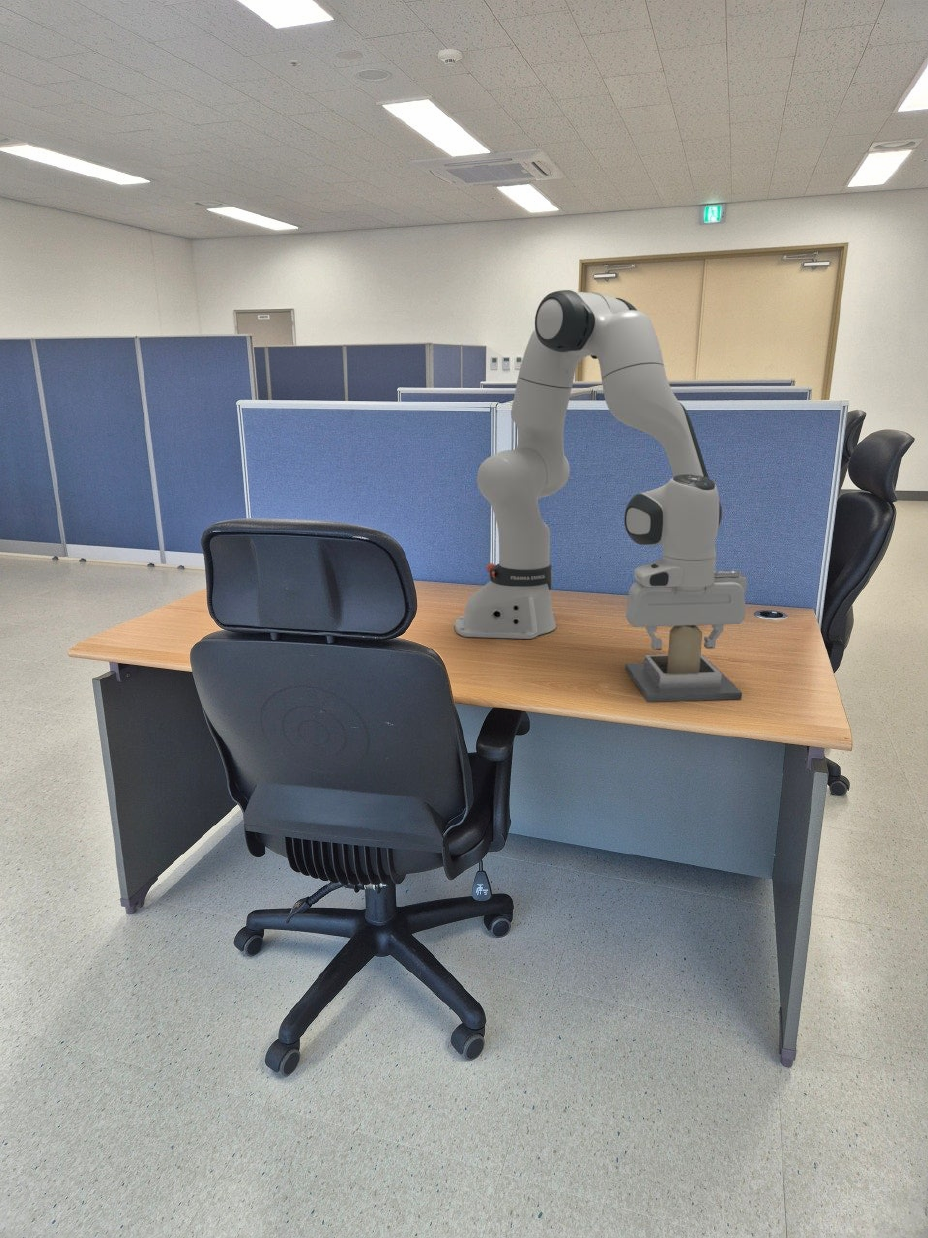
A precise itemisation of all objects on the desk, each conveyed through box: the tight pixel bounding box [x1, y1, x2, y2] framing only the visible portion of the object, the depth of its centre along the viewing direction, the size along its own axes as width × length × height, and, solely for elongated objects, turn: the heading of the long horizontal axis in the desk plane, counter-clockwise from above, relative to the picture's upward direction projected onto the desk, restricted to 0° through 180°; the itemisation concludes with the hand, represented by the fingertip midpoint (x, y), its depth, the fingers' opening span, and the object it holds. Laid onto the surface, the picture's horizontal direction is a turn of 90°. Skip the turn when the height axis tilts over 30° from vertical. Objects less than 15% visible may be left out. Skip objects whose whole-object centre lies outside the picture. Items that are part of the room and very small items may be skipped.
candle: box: [667, 625, 703, 673], centre depth 138 cm, size 6×6×10 cm
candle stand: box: [625, 653, 743, 703], centre depth 139 cm, size 16×16×4 cm
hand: (682, 648), depth 138 cm, fingers open, 8 cm apart
